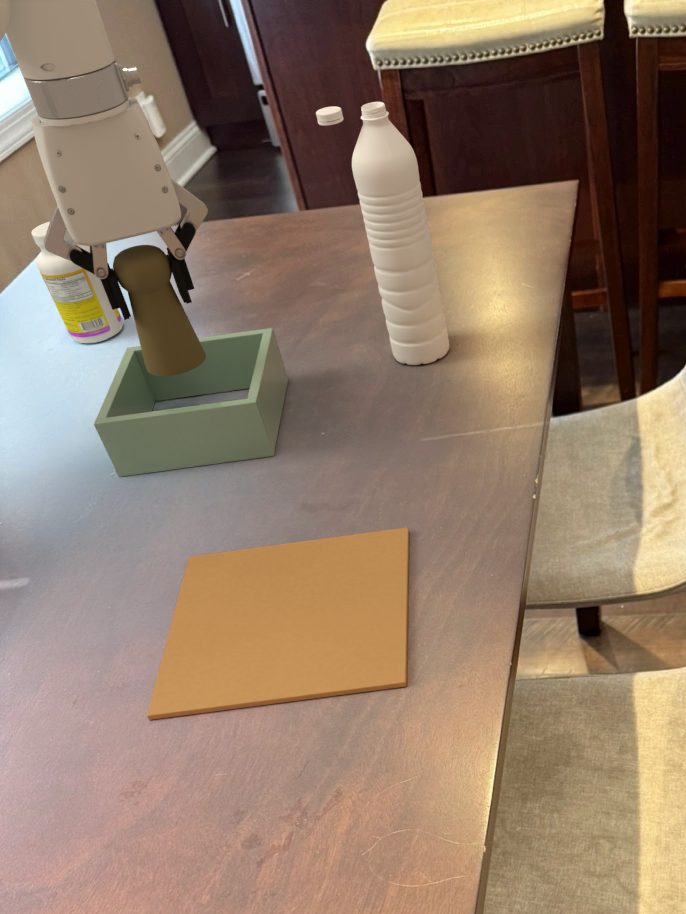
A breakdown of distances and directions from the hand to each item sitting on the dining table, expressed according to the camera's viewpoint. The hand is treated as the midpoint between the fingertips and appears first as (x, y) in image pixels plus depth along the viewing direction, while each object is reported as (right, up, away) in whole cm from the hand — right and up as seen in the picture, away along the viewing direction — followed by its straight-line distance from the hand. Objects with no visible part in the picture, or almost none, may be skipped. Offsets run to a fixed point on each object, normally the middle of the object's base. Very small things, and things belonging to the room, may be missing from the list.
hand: (155, 304), depth 97 cm
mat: (+16, -32, -14) cm, 38 cm away
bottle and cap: (+23, +1, +17) cm, 28 cm away
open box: (+2, -9, +10) cm, 13 cm away
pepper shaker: (0, -4, +4) cm, 6 cm away
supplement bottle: (-18, +8, +29) cm, 35 cm away
